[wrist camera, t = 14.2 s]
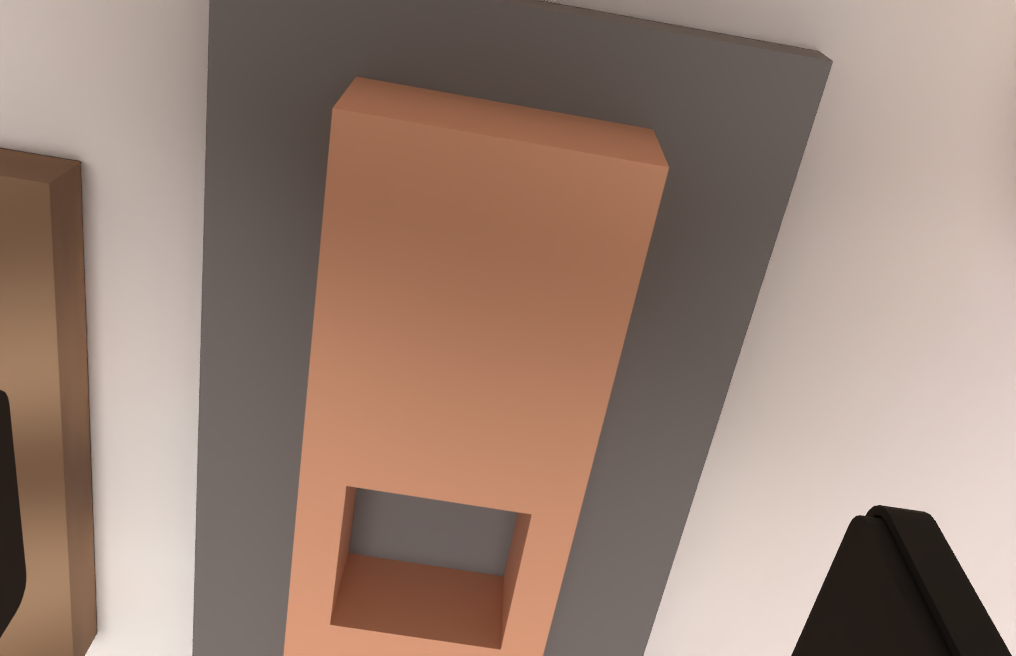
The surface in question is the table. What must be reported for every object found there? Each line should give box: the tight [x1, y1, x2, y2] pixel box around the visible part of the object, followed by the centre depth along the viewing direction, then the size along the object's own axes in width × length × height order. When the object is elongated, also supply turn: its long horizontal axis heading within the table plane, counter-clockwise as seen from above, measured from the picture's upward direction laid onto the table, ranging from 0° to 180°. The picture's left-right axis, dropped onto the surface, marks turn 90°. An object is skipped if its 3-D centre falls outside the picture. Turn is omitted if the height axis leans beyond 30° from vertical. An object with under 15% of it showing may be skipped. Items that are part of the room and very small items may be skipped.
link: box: [283, 77, 669, 656], centre depth 22 cm, size 20×6×2 cm, turn 170°
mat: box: [192, 0, 833, 656], centre depth 24 cm, size 24×12×1 cm, turn 170°
